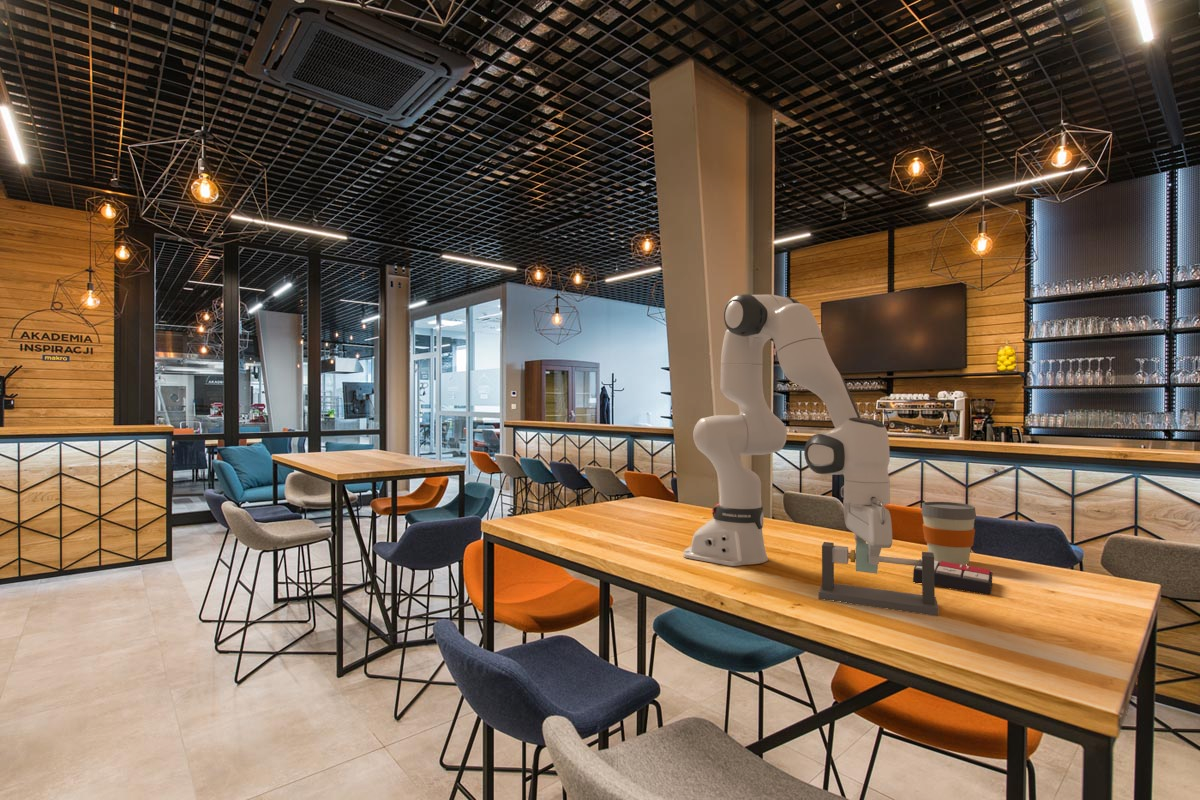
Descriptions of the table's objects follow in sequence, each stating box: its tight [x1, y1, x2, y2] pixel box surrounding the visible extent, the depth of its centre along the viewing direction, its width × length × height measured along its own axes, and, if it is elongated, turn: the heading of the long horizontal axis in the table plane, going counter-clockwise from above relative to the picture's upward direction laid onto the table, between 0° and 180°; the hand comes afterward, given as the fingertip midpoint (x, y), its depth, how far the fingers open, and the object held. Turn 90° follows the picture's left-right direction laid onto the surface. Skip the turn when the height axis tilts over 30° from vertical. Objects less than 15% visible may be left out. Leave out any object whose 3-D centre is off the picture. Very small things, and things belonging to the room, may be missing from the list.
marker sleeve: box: [855, 542, 879, 574], centre depth 121 cm, size 4×5×5 cm
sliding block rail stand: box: [818, 541, 939, 617], centre depth 120 cm, size 22×8×11 cm, turn 63°
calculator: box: [912, 558, 993, 596], centre depth 133 cm, size 11×4×15 cm
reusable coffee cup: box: [920, 501, 977, 565], centre depth 152 cm, size 13×13×15 cm
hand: (867, 559), depth 121 cm, fingers closed on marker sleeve, 6 cm apart
